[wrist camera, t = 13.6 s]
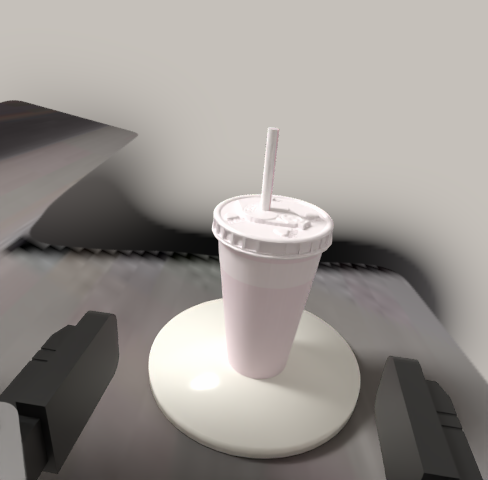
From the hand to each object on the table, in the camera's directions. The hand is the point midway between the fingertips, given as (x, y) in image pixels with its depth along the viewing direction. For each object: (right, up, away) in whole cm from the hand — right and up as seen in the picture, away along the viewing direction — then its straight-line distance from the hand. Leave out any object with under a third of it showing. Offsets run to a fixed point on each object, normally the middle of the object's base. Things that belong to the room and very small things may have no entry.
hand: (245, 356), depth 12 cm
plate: (+1, -5, +14) cm, 15 cm away
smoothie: (+1, -4, +14) cm, 15 cm away
